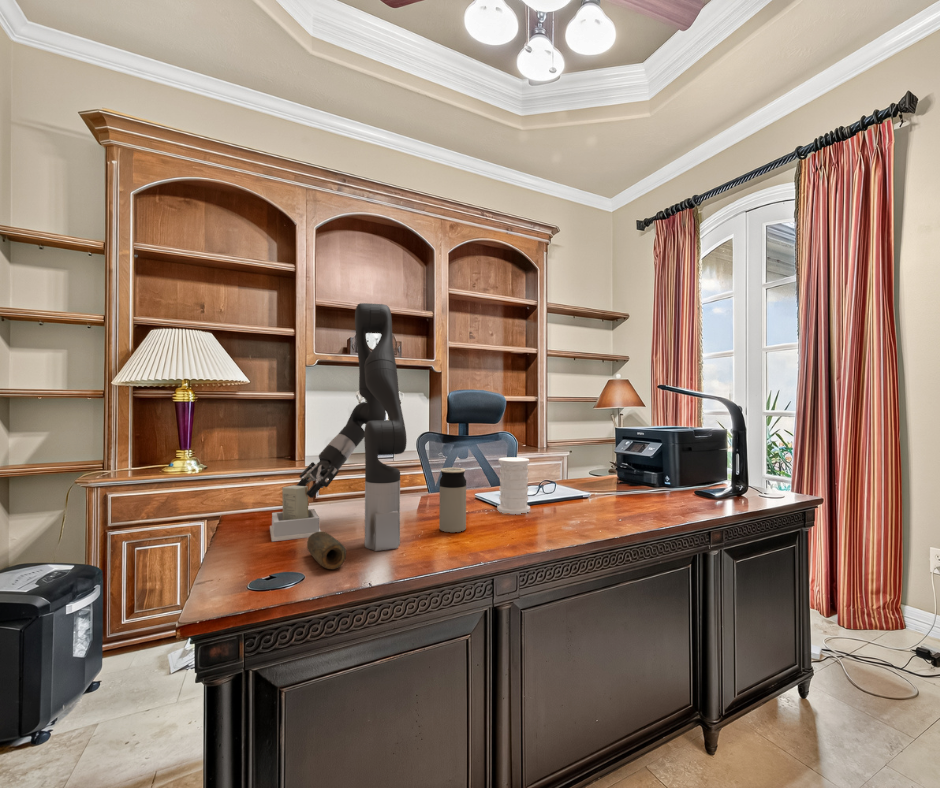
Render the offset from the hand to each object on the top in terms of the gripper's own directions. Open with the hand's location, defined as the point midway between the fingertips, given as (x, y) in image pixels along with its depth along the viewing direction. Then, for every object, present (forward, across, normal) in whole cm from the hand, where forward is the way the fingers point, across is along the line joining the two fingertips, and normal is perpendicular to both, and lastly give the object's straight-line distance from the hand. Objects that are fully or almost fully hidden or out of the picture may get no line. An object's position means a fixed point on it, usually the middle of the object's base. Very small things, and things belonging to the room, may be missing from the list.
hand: (302, 494), depth 136 cm
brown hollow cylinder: (+14, +28, +3) cm, 31 cm away
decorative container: (-38, +28, +54) cm, 71 cm away
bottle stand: (+9, 0, +6) cm, 11 cm away
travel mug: (-15, +30, +31) cm, 46 cm away
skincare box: (+8, -1, +6) cm, 10 cm away
